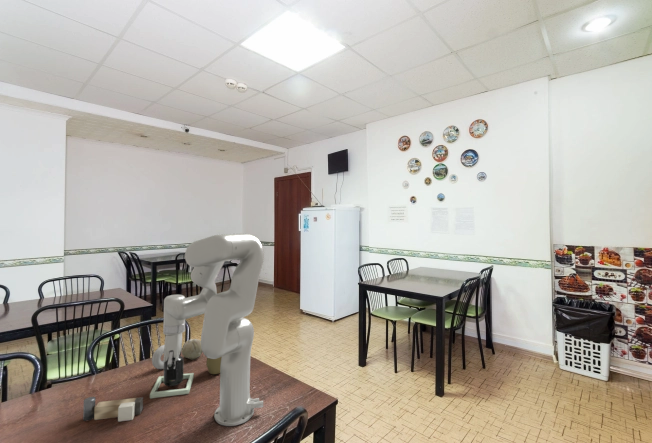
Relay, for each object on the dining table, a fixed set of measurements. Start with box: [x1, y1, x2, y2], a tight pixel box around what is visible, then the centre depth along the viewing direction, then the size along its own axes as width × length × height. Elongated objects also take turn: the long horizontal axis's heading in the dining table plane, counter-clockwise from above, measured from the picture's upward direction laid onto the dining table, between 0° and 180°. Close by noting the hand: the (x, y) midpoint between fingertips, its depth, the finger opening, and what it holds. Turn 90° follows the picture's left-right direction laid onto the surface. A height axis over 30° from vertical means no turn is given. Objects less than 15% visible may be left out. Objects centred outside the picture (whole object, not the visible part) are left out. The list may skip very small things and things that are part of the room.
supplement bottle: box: [163, 351, 184, 387], centre depth 119 cm, size 7×7×12 cm
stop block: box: [117, 402, 135, 422], centre depth 100 cm, size 4×2×4 cm, turn 106°
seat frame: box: [149, 372, 195, 399], centre depth 119 cm, size 13×13×2 cm
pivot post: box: [82, 396, 96, 422], centre depth 100 cm, size 3×3×6 cm
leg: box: [93, 396, 144, 421], centre depth 102 cm, size 13×3×4 cm, turn 105°
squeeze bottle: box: [206, 357, 222, 375], centre depth 132 cm, size 8×8×18 cm
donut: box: [151, 344, 165, 370], centre depth 133 cm, size 10×4×10 cm, turn 149°
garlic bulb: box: [181, 338, 203, 361], centre depth 144 cm, size 9×8×10 cm
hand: (173, 373), depth 119 cm, fingers closed on supplement bottle, 6 cm apart
